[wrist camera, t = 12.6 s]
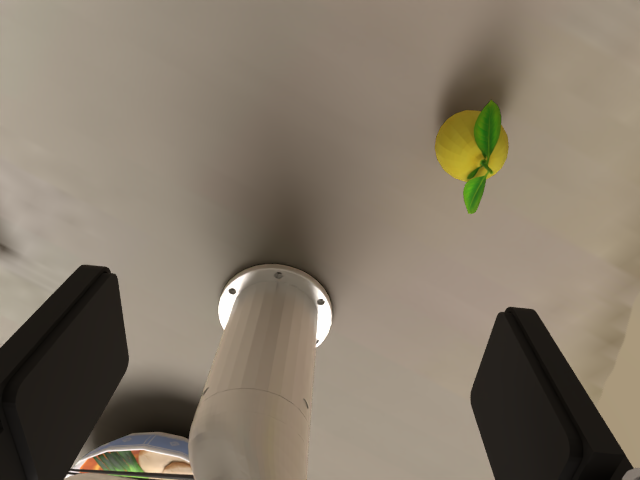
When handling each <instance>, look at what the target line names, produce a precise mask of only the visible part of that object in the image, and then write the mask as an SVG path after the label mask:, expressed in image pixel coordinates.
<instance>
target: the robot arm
mask: <svg viewBox="0 0 640 480" xmlns="http://www.w3.org/2000/svg"><path fill="white" fill-rule="evenodd" d="M218 315H219V319H220V323H221V325H222V327H223V329H224V332H223V335H222V338H221V341H220V344H219V347H218V349H217V352H216V355H215V358H214V361H213V364H212V367H211V370H210V373H209V375H208V378H207V381H206V384H205V387H204V390H203V393H202V396H201V399H200V402H199V404H198V407H197V410H196V413H195V416H194V419H193V422H192V425H191V429H190V433H189V442H188V451H189V461H190V465H191V469H192V473H193V476H194V479H195V480H307V463H308V447H309V433H310V420H311V406H312V393H313V380H314V367H315V353H316V347H317V346H319V345H320V344H321V343H322V342H323V341H324V339H325V338H326V336H327V335H328V333H329V331H330V328H331V324H332V305H331V302H330V299H329V296H328V294H327V293H326V291H325V289H324V288H323V287H322V286H321V285H320V283H319V282H318V281H317V280H315V279H314V278H313V277H311V276H310V275H309V274H307V273H305V272H303V271H301V270H299V269H296V268H293V267H290V266H286V265H280V264H263V265H257V266H253V267H250V268H248V269H245V270H243V271H241V272H240V273H238V274H236V275H235V276H234V277H233V278H232V279H231V280H230V281H229V282H228V283H227V285H226V286H225V288H224V290H223V292H222V294H221V297H220V300H219V304H218ZM128 361H129V355H128V348H127V341H126V334H125V327H124V320H123V313H122V306H121V299H120V292H119V285H118V279H117V276H116V274H113V273H111V271H110V270H109V268H107V267H102V266H92V265H81V266H80V267H79V268H78V269H77V270H76V271H75V272H74V273H73V274H72V275H71V276H70V277H69V278H68V279H67V280H66V281H65V282H64V283H63V284H62V285H61V286H60V287H59V288H58V289H57V290H56V291H55V292H54V293H53V294H52V295H51V296H50V297H49V298H48V299H47V300H46V301H45V303H44V304H43V305H42V306H41V307H40V308H39V309H38V310H37V311H36V312H35V313H34V314H33V315H32V316H31V317H30V318H29V319H28V320H27V321H26V322H25V323H24V324H23V325H22V326H21V327H20V328H19V329H18V330H17V331H16V332H15V333H14V334H13V335H12V336H11V338H10V339H9V340H8V341H7V342H6V343H5V344H4V345H3V346H2V347H1V348H0V480H138V479H132V478H127V477H119V476H114V475H107V474H99V473H82V474H76V475H72V476H69V477H67V478H65V477H66V475H67V473H68V471H69V470H70V468H71V466H72V465H73V463H74V461H75V459H76V458H77V456H78V454H79V452H80V451H81V449H82V447H83V445H84V444H85V442H86V440H87V438H88V437H89V435H90V433H91V431H92V430H93V428H94V426H95V424H96V423H97V421H98V419H99V417H100V416H101V414H102V412H103V411H104V409H105V407H106V405H107V404H108V402H109V400H110V398H111V397H112V395H113V393H114V391H115V390H116V388H117V386H118V384H119V383H120V381H121V379H122V377H123V376H124V374H125V372H126V370H127V367H128ZM471 406H472V409H473V412H474V415H475V418H476V422H477V425H478V428H479V431H480V434H481V437H482V440H483V443H484V446H485V450H486V453H487V456H488V459H489V462H490V465H491V468H492V471H493V474H494V477H495V480H640V468H633V467H632V465H631V463H630V462H629V460H628V459H627V457H626V455H625V453H624V452H623V450H622V449H621V447H620V445H619V444H618V442H617V441H616V439H615V437H614V436H613V434H612V433H611V431H610V429H609V428H608V426H607V425H606V423H605V421H604V420H603V418H602V417H601V415H600V413H599V412H598V410H597V409H596V407H595V405H594V404H593V402H592V401H591V399H590V397H589V396H588V394H587V393H586V391H585V389H584V388H583V386H582V385H581V383H580V381H579V380H578V378H577V377H576V375H575V373H574V372H573V370H572V369H571V367H570V365H569V364H568V362H567V361H566V359H565V357H564V356H563V354H562V353H561V351H560V349H559V348H558V346H557V345H556V343H555V341H554V340H553V338H552V337H551V335H550V333H549V332H548V330H547V329H546V327H545V325H544V324H543V322H542V321H541V319H540V317H539V316H538V314H537V313H536V311H535V310H533V309H526V308H516V307H508V308H507V309H506V310H505V312H500V313H499V314H498V315H497V318H496V321H495V323H494V326H493V329H492V332H491V335H490V338H489V341H488V344H487V347H486V349H485V352H484V355H483V358H482V361H481V364H480V367H479V370H478V373H477V375H476V378H475V381H474V384H473V387H472V390H471ZM64 478H65V479H64Z"/></svg>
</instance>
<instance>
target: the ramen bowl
mask: <svg viewBox="0 0 640 480" xmlns="http://www.w3.org/2000/svg"><path fill="white" fill-rule="evenodd" d="M188 442H189V439H187V438H185V437H182V436H177V435H173V434H168V433H164V432H146V433H132V434H129V435H127V436H124V437H121V438H119V439H116V440H114V441H111V442H109V443H106V444H103V445H101V446H99V447H98V448H96V449H94V450H92V451H90V452H89V453H88V454H86V455H85V456H84V457H82V458H81V459H80V460H78V462H77V463H76V464H75V465H74V467H73V468H72V469H70V470H69V471H70V472H68V473H67V475H66V477H65V478H67V477H69V476H72V475H76V474H82V473H99V474H107V475H114V476H119V477H127V478H132V479H138V480H195V479H194V476H193V473H192V469H191V465H190V461H189V451H188ZM65 478H64V479H65Z"/></svg>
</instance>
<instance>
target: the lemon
mask: <svg viewBox="0 0 640 480" xmlns="http://www.w3.org/2000/svg"><path fill="white" fill-rule="evenodd" d="M508 148H509V146H508V137H507V134H506V132H505V130H504V128H503V127H502V125H501V114H500V110H499V107H498V106H497V104H495V103H494V102H493V101H492V100H490V102H489V103H488V104H487V105H486V106H485V107H484V108H483V110H482V111H474V110H465V111H462V112H459V113H456V114H454V115H453V116H451V117H450V118H448V119H447V120H446V121H445V123H444V124H443V125H442V126H441V127H440V130H439V132H438V134H437V136H436V142H435V151H436V156H437V160H438V161H439V163H440V165H441V166H442V168H443V169H444V170H445V171H446V172H447V173H448V174H450V175H451V176H452V177H454V178H456V179H459V180H462V181H465V182H467V183H466V184H465V187H464V191H463V195H464V202H465V205H466V208H467V211H468V213H469V214H473V213H475V212H476V210H477V208H478V206H479V203H480V200H481V198H482V195H483V192H484V187H485V183H486V179H488V178H490V177H491V176H493V175H495V174H496V173H497V172H498V171H499V170H500V169H501V168H502V166H503V164H504V162H505V160H506V158H507V154H508Z"/></svg>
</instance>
